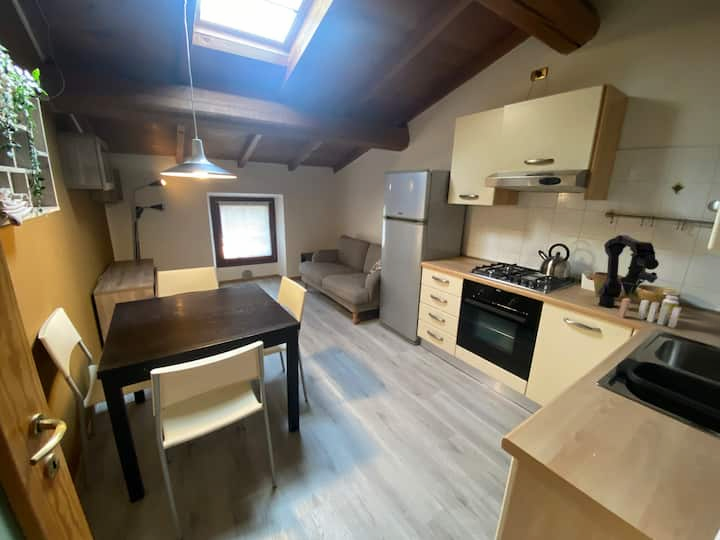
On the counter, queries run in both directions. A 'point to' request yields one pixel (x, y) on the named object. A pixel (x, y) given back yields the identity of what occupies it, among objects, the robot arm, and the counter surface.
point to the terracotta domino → (624, 308)
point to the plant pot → (601, 281)
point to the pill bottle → (670, 303)
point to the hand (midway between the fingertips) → (629, 294)
